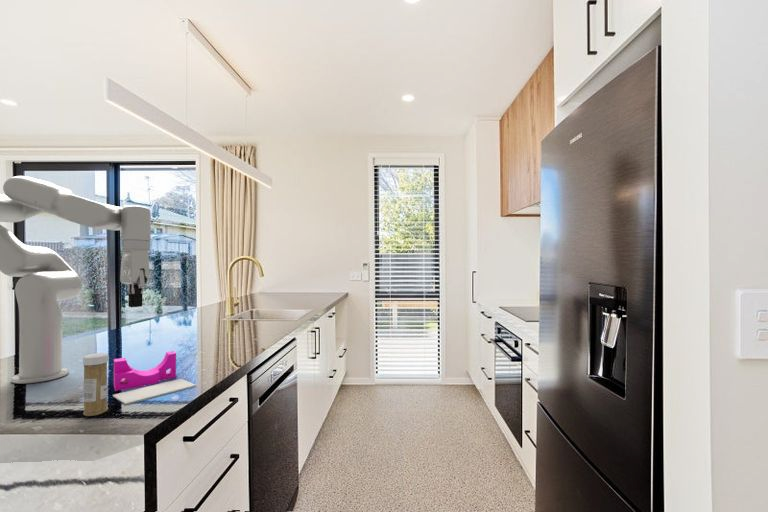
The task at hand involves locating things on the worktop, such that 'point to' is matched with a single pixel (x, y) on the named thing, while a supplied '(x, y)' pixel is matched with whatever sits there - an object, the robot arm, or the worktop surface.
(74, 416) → the worktop surface
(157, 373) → the toy block
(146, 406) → the worktop surface
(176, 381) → the mat
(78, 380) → the worktop surface
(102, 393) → the sprinkles bottle
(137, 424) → the worktop surface
